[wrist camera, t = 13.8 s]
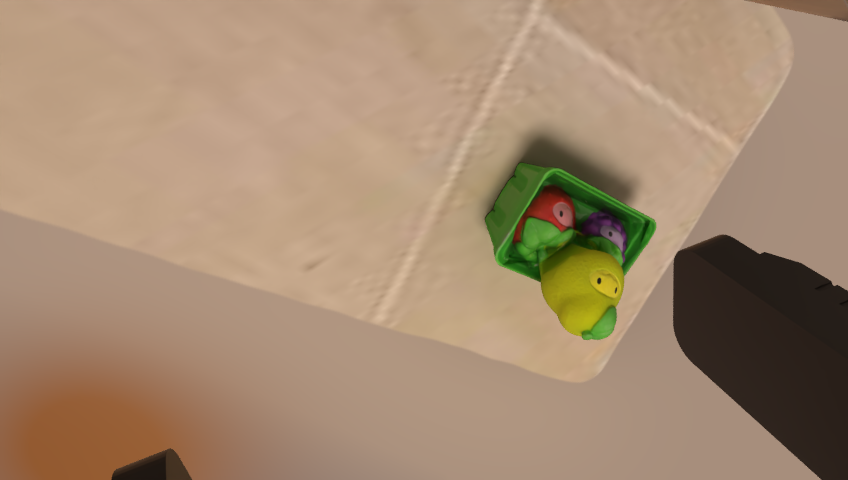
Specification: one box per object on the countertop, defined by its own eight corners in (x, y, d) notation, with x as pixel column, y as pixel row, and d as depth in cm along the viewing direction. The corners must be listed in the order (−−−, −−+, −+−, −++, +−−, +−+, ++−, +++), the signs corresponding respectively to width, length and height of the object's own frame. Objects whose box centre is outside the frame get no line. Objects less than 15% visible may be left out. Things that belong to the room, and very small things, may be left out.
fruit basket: (622, 195, 53) (722, 264, 44) (561, 287, 55) (644, 370, 46) (516, 138, 47) (605, 202, 38) (453, 242, 50) (522, 327, 40)
